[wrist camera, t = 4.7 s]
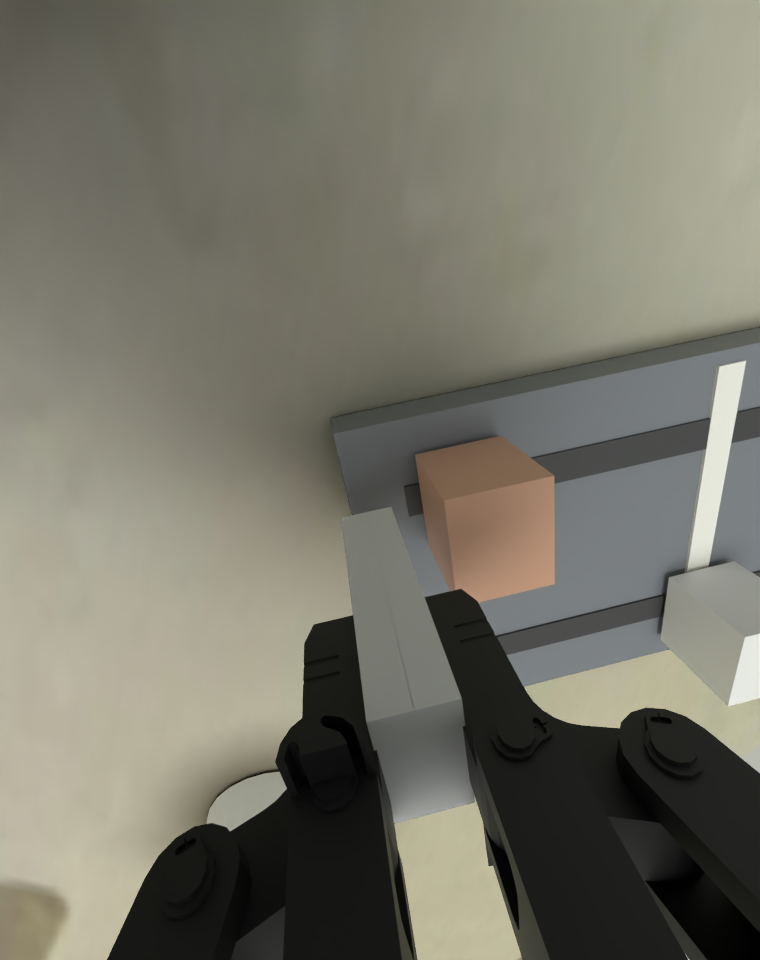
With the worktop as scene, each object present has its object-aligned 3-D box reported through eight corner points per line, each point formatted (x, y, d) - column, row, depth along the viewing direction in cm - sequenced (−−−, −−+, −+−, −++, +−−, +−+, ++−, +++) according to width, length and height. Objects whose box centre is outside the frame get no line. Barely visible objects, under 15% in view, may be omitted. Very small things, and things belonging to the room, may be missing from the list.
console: (330, 417, 16) (333, 434, 14) (827, 312, 17) (894, 314, 15) (392, 682, 21) (400, 720, 19) (757, 590, 23) (799, 618, 21)
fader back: (668, 577, 18) (745, 637, 15) (734, 561, 18) (823, 617, 15) (660, 639, 20) (727, 706, 16) (720, 624, 20) (799, 687, 17)
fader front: (414, 454, 14) (443, 500, 11) (500, 435, 14) (554, 475, 11) (428, 544, 16) (457, 607, 12) (506, 526, 16) (554, 584, 13)
